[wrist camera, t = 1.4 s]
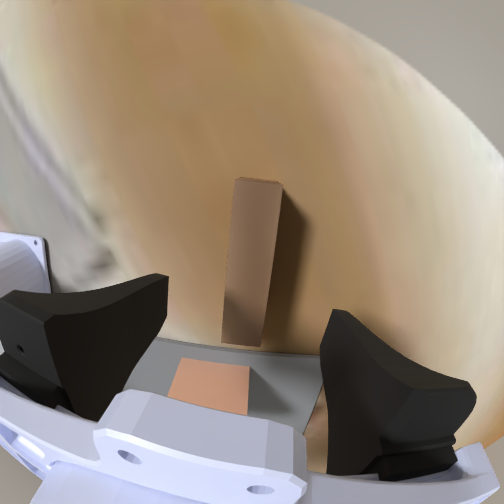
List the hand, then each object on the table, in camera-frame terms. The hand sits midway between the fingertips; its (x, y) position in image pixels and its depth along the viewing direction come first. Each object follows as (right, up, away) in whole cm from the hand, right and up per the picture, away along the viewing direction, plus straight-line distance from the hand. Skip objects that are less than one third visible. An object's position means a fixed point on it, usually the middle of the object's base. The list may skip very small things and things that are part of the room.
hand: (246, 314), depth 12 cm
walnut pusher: (0, +3, +9) cm, 9 cm away
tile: (-3, -8, +11) cm, 14 cm away
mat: (-4, -13, +14) cm, 19 cm away
